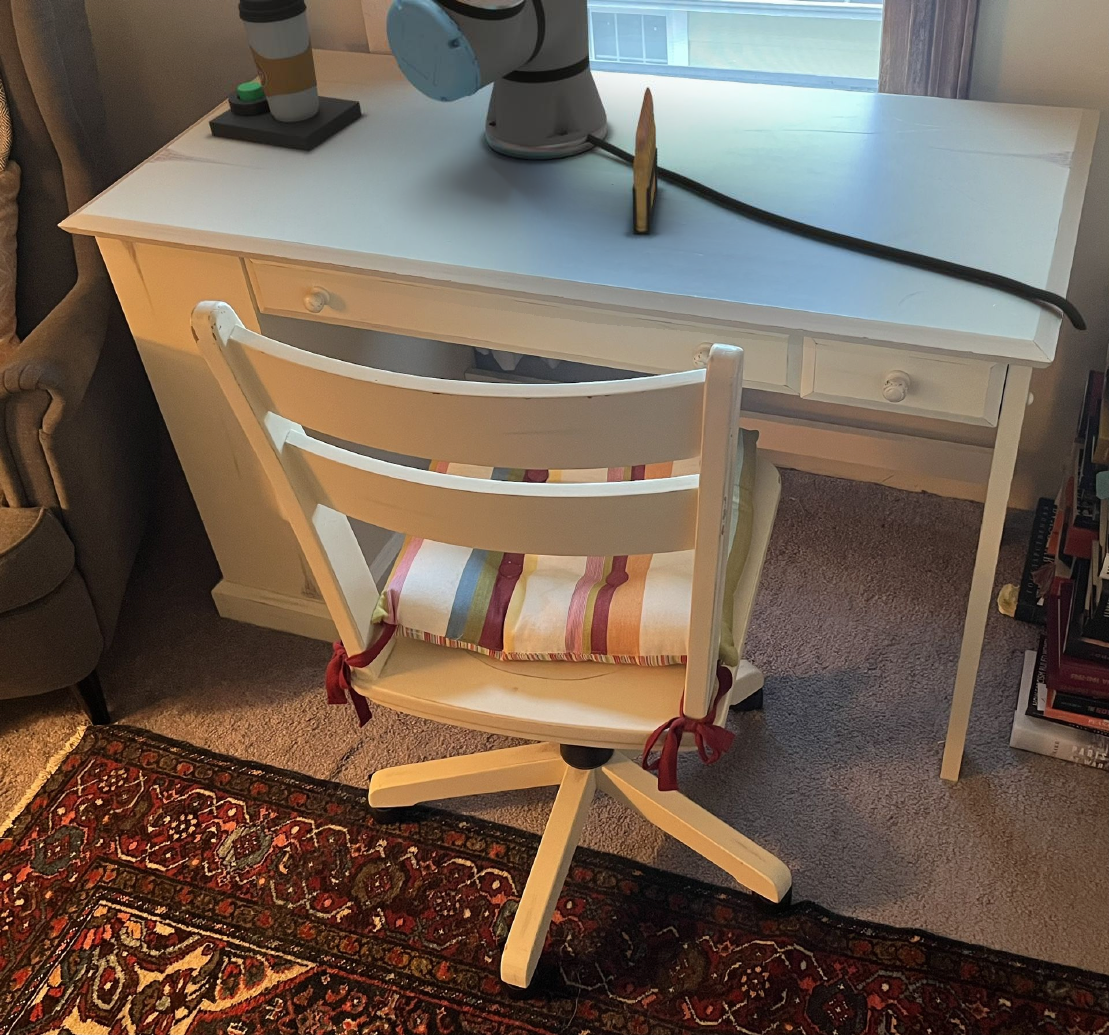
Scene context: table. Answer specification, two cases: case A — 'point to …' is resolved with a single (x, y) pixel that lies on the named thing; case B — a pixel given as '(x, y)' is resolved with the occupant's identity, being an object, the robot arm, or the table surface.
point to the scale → (262, 126)
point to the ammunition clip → (645, 168)
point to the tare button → (250, 91)
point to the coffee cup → (282, 56)
